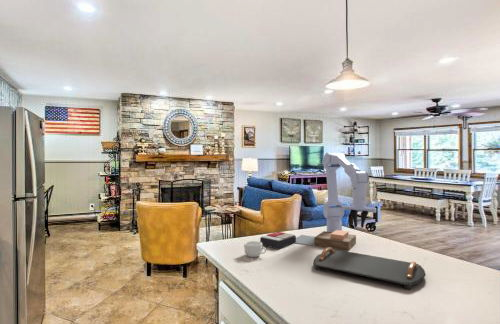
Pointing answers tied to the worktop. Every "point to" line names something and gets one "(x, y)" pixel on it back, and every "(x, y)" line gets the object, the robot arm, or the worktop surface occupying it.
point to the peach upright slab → (339, 234)
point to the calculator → (277, 240)
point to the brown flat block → (334, 241)
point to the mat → (305, 240)
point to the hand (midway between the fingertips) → (359, 226)
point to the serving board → (371, 266)
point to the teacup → (253, 248)
